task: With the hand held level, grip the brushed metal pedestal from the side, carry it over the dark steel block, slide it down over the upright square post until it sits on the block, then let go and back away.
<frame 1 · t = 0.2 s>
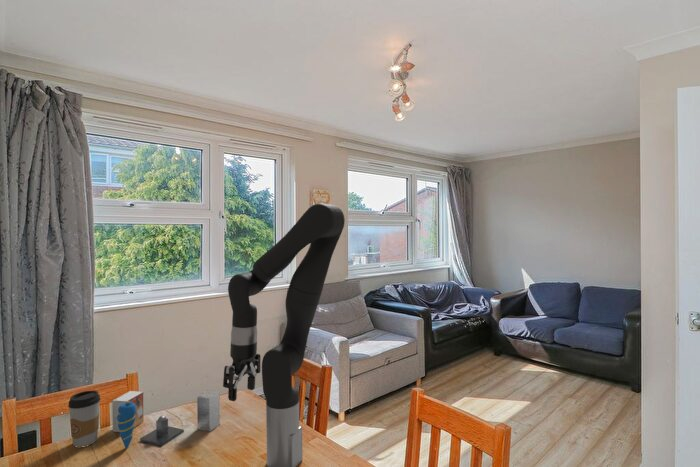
hand: (242, 394, 114), 18 cm above the table, tool pointing down, fingers open, 8 cm apart
dark gray block: (162, 437, 125), on the table
small box: (128, 427, 131), on the table
brushed metal pedestal: (208, 426, 130), on the table
coffee cup: (85, 443, 121), on the table
ornament: (127, 448, 118), on the table
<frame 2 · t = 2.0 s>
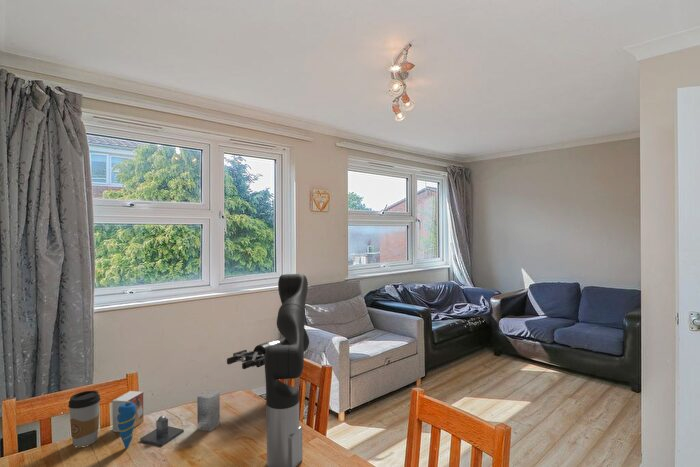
hand: (234, 364, 139), 18 cm above the table, tool horizontal, fingers open, 8 cm apart
nothing on the table moved.
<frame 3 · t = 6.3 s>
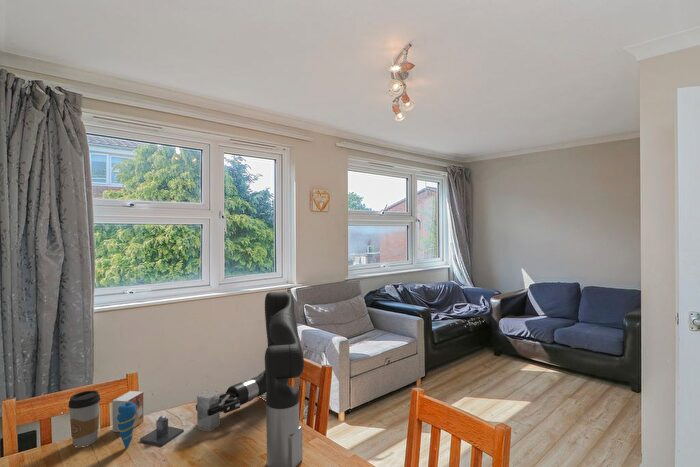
hand: (202, 410, 128), 7 cm above the table, tool horizontal, fingers closed on brushed metal pedestal, 6 cm apart
brushed metal pedestal: (208, 426, 130), on the table, touching gripper
everything else where it was.
when the fingers open (8 cm above the table, at t = 12.6 s): brushed metal pedestal stays where it is, point 1 cm above the table.
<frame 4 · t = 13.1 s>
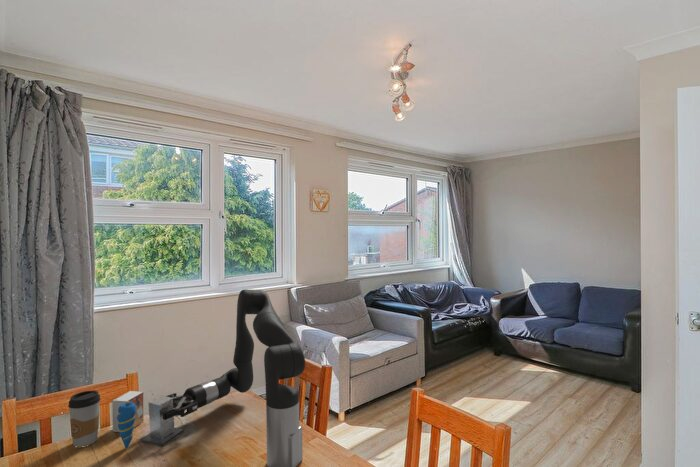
hand: (156, 413, 123), 8 cm above the table, tool horizontal, fingers open, 8 cm apart
brushed metal pedestal: (162, 433, 125), point 1 cm above the table
everything else where it was.
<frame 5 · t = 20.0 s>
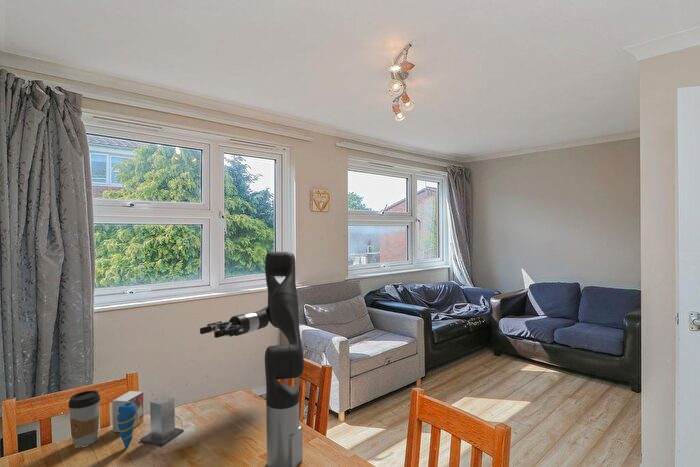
hand: (207, 333, 137), 30 cm above the table, tool horizontal, fingers open, 8 cm apart
dark gray block: (162, 437, 125), on the table, touching brushed metal pedestal
brushed metal pedestal: (162, 433, 125), point 1 cm above the table, touching dark gray block
everything else where it was.
at the end: brushed metal pedestal point 0.7 cm above the table; brushed metal pedestal 0.2 cm from the dark gray block (horizontally); the gripper is holding nothing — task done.
